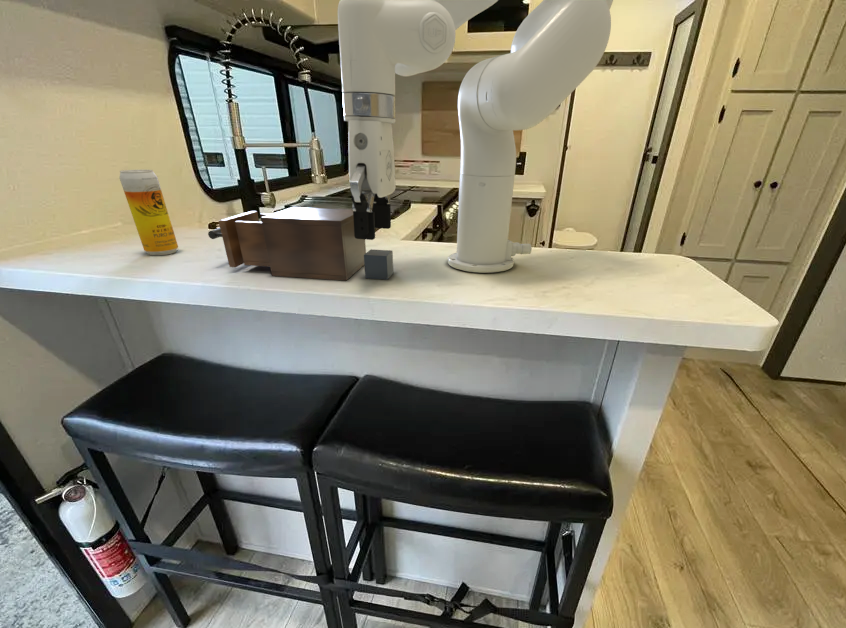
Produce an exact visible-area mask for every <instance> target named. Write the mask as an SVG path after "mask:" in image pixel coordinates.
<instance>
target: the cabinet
mask: <svg viewBox="0 0 846 628" xmlns="http://www.w3.org/2000/svg"><path fill="white" fill-rule="evenodd" d="M269 214H270V215H267V216H264V217H260V222H261V221H262V226H263V231H264V237H265V242H266V247H267V252H268V258H269V263H270V267H269V268H270V272H271V276H272V277H283V278H284V277H285V278H297V279H298V278H301V279H313V280H314V279H315V280H330V281H331V280H332V281H346V282H347V281H348V280H349V279H350V278H351V277H353V276H354V275H355V274H356V273H358V271H360V270H361V269H362V268H363V267H365V265H364V254H366V253H367V249H366V248H367V246H366V239H356V238H355V236H354V219H353V210H352V208H350V209H349V208H326V207H301V206H292V207H288V208H285V209H283V210H280V211H276V212H273V213H269Z"/></svg>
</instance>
